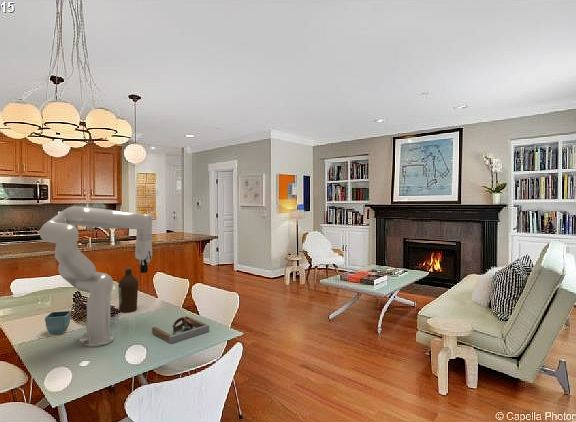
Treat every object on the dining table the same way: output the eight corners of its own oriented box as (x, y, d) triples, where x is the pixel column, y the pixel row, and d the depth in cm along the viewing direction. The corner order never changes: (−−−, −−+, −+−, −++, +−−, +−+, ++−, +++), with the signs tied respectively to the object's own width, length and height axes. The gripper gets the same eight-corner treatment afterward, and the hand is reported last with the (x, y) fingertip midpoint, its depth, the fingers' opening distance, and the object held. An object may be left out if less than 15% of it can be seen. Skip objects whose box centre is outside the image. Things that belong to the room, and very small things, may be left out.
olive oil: (137, 306, 210) (137, 265, 209) (138, 311, 200) (138, 269, 200) (118, 308, 205) (118, 266, 204) (118, 314, 196) (118, 270, 195)
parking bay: (170, 343, 157) (171, 337, 157) (151, 333, 169) (152, 327, 169) (209, 331, 173) (209, 325, 173) (189, 322, 185) (189, 317, 185)
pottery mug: (194, 336, 168) (186, 323, 166) (177, 344, 169) (168, 331, 166) (197, 321, 180) (189, 309, 177) (181, 328, 180) (173, 316, 177)
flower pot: (44, 336, 162) (44, 317, 162) (51, 329, 171) (51, 311, 170) (65, 335, 164) (65, 316, 164) (71, 328, 173) (71, 310, 173)
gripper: (130, 236, 183) (130, 271, 183) (144, 239, 173) (143, 275, 174) (144, 235, 188) (144, 269, 189) (158, 238, 179) (157, 273, 179)
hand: (143, 272), depth 181 cm, fingers closed
